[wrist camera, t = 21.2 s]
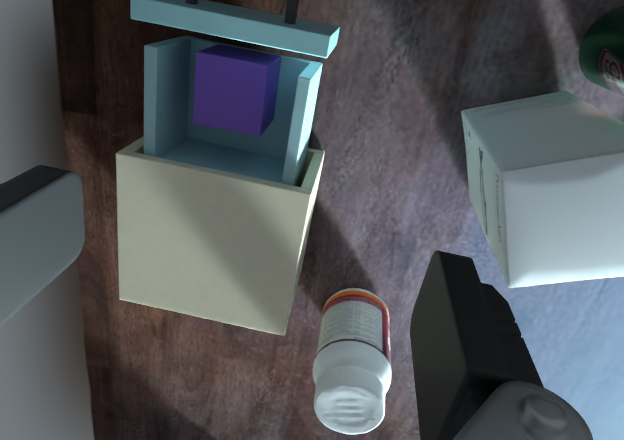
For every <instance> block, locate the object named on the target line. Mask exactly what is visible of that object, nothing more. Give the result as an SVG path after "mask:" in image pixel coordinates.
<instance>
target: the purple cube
mask: <svg viewBox="0 0 624 440" xmlns="http://www.w3.org/2000/svg"><path fill="white" fill-rule="evenodd" d="M281 58H282V57H281V56H278V55H273V54H268V53H263V52H257V51H252V50H247V49H242V48H236V47H231V46H226V45H221V44H218V45H215V46H212V47H209V48H206V49H203V50H200V51H197V52H196V62H195V85H194V107H193V124H198V125H203V126H208V127H213V128H218V129H223V130H228V131H233V132H238V133H243V134H248V135H253V136H258V137H260V136H261V135H262V134H263V132H264V131H265V130H266V128H267V127H268V126H269V125H270V123H271V122H272V121H273V120H274V113H275V105H276V97H277V90H278V82H279V74H280V66H281Z"/></svg>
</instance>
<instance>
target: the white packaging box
mask: <svg viewBox="0 0 624 440" xmlns="http://www.w3.org/2000/svg"><path fill="white" fill-rule="evenodd" d="M461 115H462V122H463V129H464V137H465V147H466V158H467V172H468V189H469V199H470V201H471V204H472V206H473V208H474V211H475V213H476V216H477V218H478V220H479V222H480V225H481V227H482V229H483V232H484V234H485V236H486V239H487V241H488V243H489V245H490V248H491V250H492V252H493V254H494V256H495V258H496V260H497V263H498V265H499V267H500V270H501V272H502V274H503V277H504V279H505V281H506V283H507V286H508V287H509V288H514V287H524V286H533V285H542V284H551V283H560V282H569V281H578V280H586V279H596V278H608V277H619V276H624V123H623V122H621V121H619V120H617V119H616V118H614V117H612V116H610V115H609V114H607V113H605V112H603V111H601V110H599V109H598V108H596V107H594V106H592V105H590V104H588V103H587V102H585V101H583V100H581V99H579V98H578V97H576V96H574V95H572V94H570V93H569V92H567V91H561V92H556V93H550V94H545V95H540V96H534V97H529V98H523V99H518V100H513V101H507V102H502V103H497V104H491V105H486V106H481V107H475V108H471V109H465V110H462V112H461Z"/></svg>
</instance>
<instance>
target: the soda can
mask: <svg viewBox="0 0 624 440" xmlns="http://www.w3.org/2000/svg"><path fill="white" fill-rule="evenodd" d="M579 64H580V67H581V70H582V72H583V73H584V75H585V76H586V77H587V78H588V79H589V80H590V81H591V82H593V83H595V84H597V85H599V86H601V87H604V88H606V89H608V90H611V91H613V92H615V93H618V94H620V95H622V96H624V6H621V7H618V8H615V9H612V10H611V11H609V12H607V13H605V14H604V15H602V16H601V17H599V18H598V19H597V20H596V21H595V22H594V23H593V24H592V25H591V26H590V28H589V29H588V31H587V32H586V34H585V35H584V37H583V39H582V42H581V45H580V49H579Z"/></svg>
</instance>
